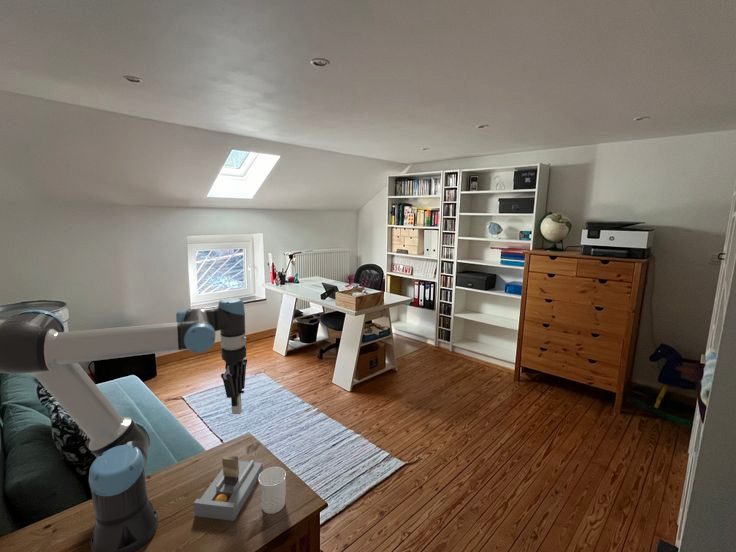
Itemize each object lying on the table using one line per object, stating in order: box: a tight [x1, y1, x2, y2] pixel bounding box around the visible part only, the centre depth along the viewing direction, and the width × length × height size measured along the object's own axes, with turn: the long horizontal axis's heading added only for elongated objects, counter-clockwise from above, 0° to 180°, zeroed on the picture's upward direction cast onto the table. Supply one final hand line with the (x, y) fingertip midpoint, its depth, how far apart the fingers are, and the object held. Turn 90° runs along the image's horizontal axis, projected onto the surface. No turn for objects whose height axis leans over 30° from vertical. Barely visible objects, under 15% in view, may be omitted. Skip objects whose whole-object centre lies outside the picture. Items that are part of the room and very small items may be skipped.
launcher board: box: [193, 459, 264, 522], centre depth 113 cm, size 20×12×4 cm, turn 173°
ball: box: [215, 494, 227, 502], centre depth 107 cm, size 4×4×4 cm
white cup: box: [257, 466, 287, 515], centre depth 108 cm, size 8×8×10 cm
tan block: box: [221, 455, 239, 485], centre depth 112 cm, size 2×4×8 cm, turn 83°
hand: (236, 412), depth 120 cm, fingers closed
